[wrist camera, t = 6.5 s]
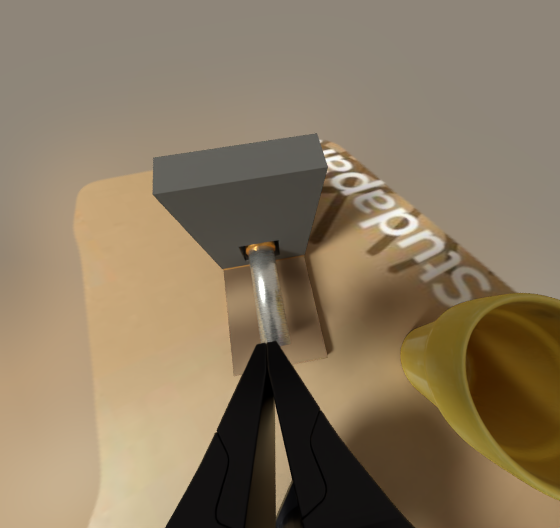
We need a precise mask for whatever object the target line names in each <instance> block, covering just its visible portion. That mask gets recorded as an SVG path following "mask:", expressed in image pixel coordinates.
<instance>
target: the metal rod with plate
mask: <svg viewBox="0 0 560 528" xmlns="http://www.w3.org/2000/svg"><path fill="white" fill-rule="evenodd" d="M245 249H246V254H247V255H248V256H249V262H250V269H251V276H252V283H253V290H254V298H255V305H256V312H257V319H258V326H259V333H260V340H261V343H264V342H265V343H266V344H267V342H269V341H277V342H278V344H279V345H280V346H284V345H288V344H291V341H290V336H289V331H288V325H287V320H286V314H285V309H284V304H283V298H282V293H281V287H280V282H279V276H278V271H277V266H276V260H275V255H274V251H275V243H274V241H270V242H264V243H259V244H253V245H247V246H245Z"/></svg>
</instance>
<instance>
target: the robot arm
mask: <svg viewBox="0 0 560 528" xmlns="http://www.w3.org/2000/svg"><path fill="white" fill-rule="evenodd" d="M275 405H276V409H277V414H278V418H279V423H280V427H281V432H282V436H283V441H284V445H285V449H286V454H287V458H288V463H289V467H290V472H291V476H292V481H291V484H290V486H289V488H288V491H287V493H286V495H285V498H284V500H283V502H282V504H281V507H280V509H279V511H278V514H277V516H276V484H275ZM165 528H415V527H414V526H413V525H412V524H411V523H410V522H409V521H408V520H407V519H406V518H405V517H404V515H403V514H402V513H401V512H400V511H399V510H398V509H397V508H396V506H395V505H394V504H393V503H392V502H391V500H390V499H389V498H388V497H387V496H386V494H385V493H384V492H383V491H382V490H381V488H380V487H379V486H378V485H377V483H376V482H375V481H374V480H373V478H372V477H371V476H370V475H369V474H368V472H367V471H366V470H365V469H364V467H363V466H362V465H361V464H360V463H359V461H358V460H357V459H356V458H355V456H354V455H353V454H352V453H351V451H350V450H349V449H348V447H347V446H346V445H345V444H344V442H343V441H342V440H341V438H340V437H339V436H338V434H337V433H336V431H335V430H334V428H333V427H332V425H331V424H330V423H329V421H328V420H327V418H326V416H325V415H324V413H323V412H322V411H320V407H319V406H318V404H317V403H316V401H315V400H314V398H313V397H312V395H311V393H310V392H309V390H308V389H307V387H306V386H305V384H304V383H303V381H302V380H301V378H300V376H299V375H298V373H297V372H296V370H295V369H294V367H293V366H292V364H291V363H290V361H289V359H288V358H287V356H286V355H285V353H284V352H283V350H282V349H281V347H280V345H279V344H278V342H277V341H269V342H267V344H266V343H265V342H264V343H259V344H256V346H255V348H254V350H253V352H252V354H251V357H250V359H249V361H248V363H247V365H246V367H245V370H244V372H243V374H242V376H241V378H240V380H239V383H238V385H237V387H236V389H235V391H234V393H233V396H232V398H231V400H230V402H229V404H228V406H227V409H226V411H225V413H224V415H223V417H222V419H221V422H220V424H219V426H218V428H217V432H216V433H215V434H214V436H213V439H212V441H211V443H210V445H209V447H208V449H207V451H206V453H205V455H204V458H203V460H202V462H201V464H200V466H199V468H198V469H197V471H196V473H195V475H194V477H193V479H192V481H191V482H190V484H189V486H188V488H187V490H186V492H185V493H184V495H183V497H182V499H181V500H180V502H179V504H178V506H177V507H176V509H175V511H174V513H173V515H172V516H171V518H170V520H169V522H168V523H167V525H166V527H165Z"/></svg>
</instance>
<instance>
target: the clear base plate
mask: <svg viewBox="0 0 560 528" xmlns="http://www.w3.org/2000/svg"><path fill="white" fill-rule="evenodd" d="M276 266H277V271H278V276H279V282H280V287H281V293H282V298H283V304H284V309H285V314H286V320H287V325H288V331H289V336H290V341H291V344H288V345H284V346H280V347H281V349H282V350H283V352H284V353H285V355H286V356H287V358H288V359H289V361H290V363H291V364H298V363H303V362H308V361H313V360H318V359H323V358H328V357H327V352H326V348H325V344H324V339H323V335H322V331H321V327H320V322H319V318H318V314H317V310H316V305H315V301H314V297H313V292H312V288H311V284H310V280H309V275H308V271H307V267H306V263H305V258H304V255H301V256H295V257H289V258H284V259H278V260H276ZM223 270H224V279H225V290H226V300H227V310H228V321H229V331H230V342H231V352H232V362H233V373H234V376H237V375H242V374H243V372H244V370H245V367H246V365H247V363H248V361H249V359H250V357H251V354H252V352H253V350H254V348H255V346H256V344H259V343H261V340H260V333H259V326H258V319H257V312H256V305H255V298H254V290H253V283H252V276H251V269H250V264H249V265H244V266H238V267H232V268H226V269H223Z"/></svg>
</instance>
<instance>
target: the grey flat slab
mask: <svg viewBox="0 0 560 528" xmlns="http://www.w3.org/2000/svg"><path fill="white" fill-rule="evenodd" d="M153 159H154V160H153V195H154V197H155V198H156V199H157V200H158V201H159V202H160V203H161V204H162V205H163V206H164V207H165V208H166V209H167V210H168V212H169V213H170V214H171V215H172V216H173V217H174V218H175V219H176V220H177V221H178V222H179V223H180V224H181V225H182V226H183V228H184V229H185V230H186V231H187V232H188V233H189V234H190V235H191V236H192V237H193V238H194V239H195V240H196V241H197V243H198V244H199V245H200V246H201V247H202V248H203V249H204V250H205V251H206V252H207V253H208V254H209V255H210V256H211V258H212V259H213V260H214V261H215V262H216V263H217V264H218V265H219V266H220V267H221V268H222V269H226V268H232V267H238V266H244V265H249V264H250V262H249V256H248V255H247V254H246V249H245V246H247V245H253V244H259V243H264V242H270V241H274V243H275V251H274V255H275V260H278V259H284V258H289V257H295V256H301V255H305V251H306V247H307V244H308V240H309V236H310V232H311V228H312V225H313V221H314V217H315V213H316V210H317V206H318V202H319V198H320V194H321V191H322V187H323V183H324V179H325V176H326V172H327V168H328V166H327V163H326V160H325V157H324V154H323V151H322V148H321V144H320V141H319V138H318V135H317V133H316V134H310V135H303V136H296V137H289V138H283V139H276V140H269V141H262V142H256V143H249V144H243V145H236V146H229V147H222V148H216V149H209V150H202V151H196V152H189V153H183V154H175V155H169V156H162V157H155V158H153Z"/></svg>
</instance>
